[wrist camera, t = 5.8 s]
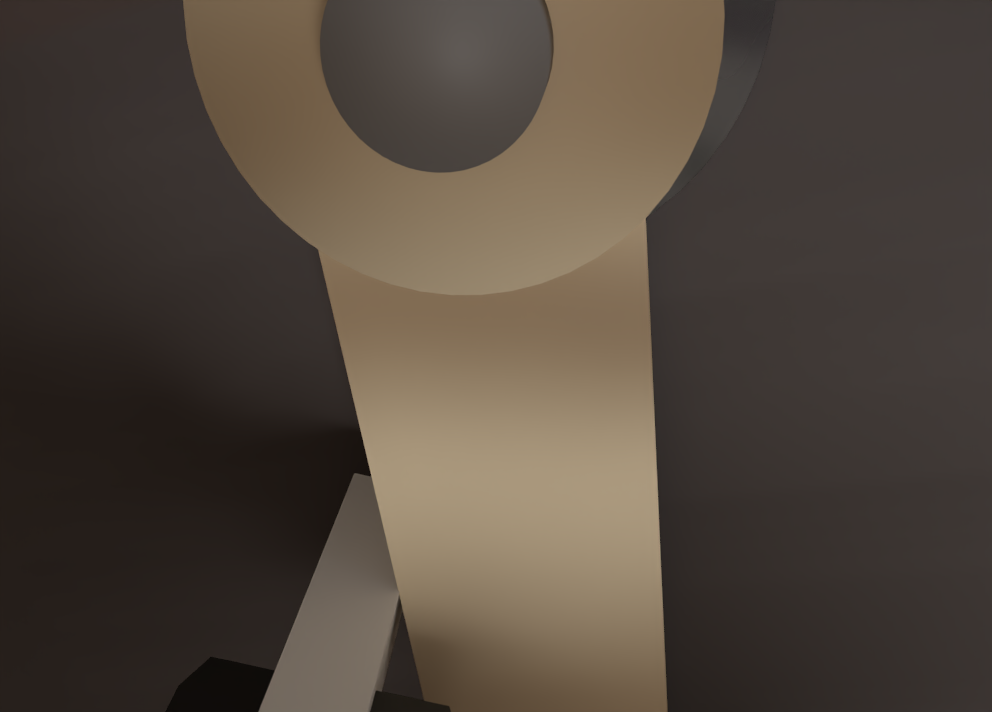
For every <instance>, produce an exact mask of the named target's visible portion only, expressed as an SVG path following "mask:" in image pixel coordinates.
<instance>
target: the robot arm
mask: <svg viewBox="0 0 992 712" xmlns="http://www.w3.org/2000/svg"><path fill="white" fill-rule="evenodd" d="M399 592H400V591H398V587H397V583H396V579H395V575H394V570H393V566H392V562H391V558H390V553H389V549H388V545H387V540H386V536H385V532H384V528H383V523H382V519H381V515H380V511H379V506H378V502H377V498H376V494H375V489H374V485H373V481H372V477H370V476H366V475H361V474H357V473H354V475H353V477H352V480H351V482H350V485H349V487H348V490H347V492H346V495H345V497H344V500H343V502H342V505H341V507H340V510H339V512H338V515H337V517H336V520H335V522H334V525H333V527H332V530H331V532H330V535H329V537H328V540H327V542H326V545H325V547H324V550H323V552H322V555H321V557H320V560H319V562H318V565H317V567H316V570H315V572H314V575H313V577H312V580H311V582H310V585H309V587H308V590H307V592H306V595H305V597H304V599H303V602H302V604H301V607H300V609H299V612H298V614H297V617H296V619H295V622H294V624H293V627H292V629H291V632H290V634H289V637H288V639H287V642H286V644H285V647H284V649H283V652H282V654H281V657H280V659H279V662H278V664H277V667H276V669H275V671H274V670H270V669H265V668H260V667H256V666H251V665H246V664H242V663H237V662H232V661H228V660H223V659H218V658H214V657H210V658H209V659H208V660H207V661H206V662H205V663H203V664H202V665H201V666H200V667H199V668H198V669H197V670H196V671H195V672H193V673H192V674H191V675H190V676H189V677H188V678H187V679H186V680H185V681H183V682H182V683H181V684H180V685H179V686H178V688H177V690H176V692H175V694H174V696H173V698H172V700H171V702H170V704H169V706H168V708H167V710H166V712H451V710H450V706H447V705H442V704H437V703H433V702H428V701H423V700H419V699H414V698H409V697H405V696H400V695H395V694H391V693H386V692H382V689H383V685H384V681H385V677H386V673H387V670H388V666H389V662H390V658H391V654H392V650H393V646H394V642H395V638H396V634H397V630H398V627H399V623H400V619H401V615H402V611H403V609H402V604H401V600H400V596H399Z"/></svg>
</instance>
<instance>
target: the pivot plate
mask: <svg viewBox="0 0 992 712" xmlns="http://www.w3.org/2000/svg"><path fill="white" fill-rule="evenodd" d="M775 1H776V0H724V13H725V18H724V34H723V50H722V59H721V64H720V69H719V74H718V79H717V85H716V90H715V94H714V97H713V100H712V103H711V106H710V109H709V112H708V116H707V119H706V122H705V125H704V128H703V130H702V132H701V134H700V136H699V138H698V141H697V143H696V145H695V147H694V149H693V151H692V153H691V155H690V158H689V160H688V161H687V163H686V165H685V166H684V168H683V169H682V171H681V172H680V174H679V176H678V177H677V179H676V180H675V182H674V183H673V185H672V187H671V188H670V190H669V191H668V192H667V193H666V195H665V196H664V197H663V198H662V199H661V201H660V202H659V203H658V204H657V205H656V207H655V208H654V209H653V210H652V211H651V213H650V214H652V213H653V212H655V211H656V210H657V209H658V208H660V207H661V206H662V205H663V204H665V203H666V202H667V201H668V200H670V199H671V198H672V197H673V196H675V195H676V194H677V193H678V192H680V191H681V190H682V189H683V188H684V187H685V185H686V184H687V183H688V182H689V181H690V180H691V179H692V178H693V177H694V176H695V175H696V174H697V173H698V172H699V171H700V170H701V169H702V168H703V167H704V166H705V164H706V163H707V162H708V161H709V159H710V158H711V157H712V155H713V154H714V153H715V151H716V150H717V149H718V147H719V146H720V145H721V143H722V142H723V141H724V139H725V138H726V136H727V135H728V133H729V131H730V130H731V128H732V126H733V124H734V123H735V121H736V119H737V118H738V116H739V114H740V112H741V111H742V109H743V107H744V105H745V103H746V101H747V98H748V96H749V94H750V91H751V89H752V87H753V84H754V82H755V80H756V77H757V75H758V73H759V70H760V67H761V63H762V60H763V56H764V53H765V49H766V46H767V43H768V39H769V36H770V31H771V25H772V19H773V13H774V7H775ZM650 214H649V215H650Z"/></svg>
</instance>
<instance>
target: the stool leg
mask: <svg viewBox="0 0 992 712" xmlns="http://www.w3.org/2000/svg"><path fill="white" fill-rule="evenodd" d="M183 5H184V15H185V25H186V35H187V43H188V47H189V52H190V56H191V61H192V66H193V70H194V75H195V78H196V81H197V84H198V87H199V90H200V93H201V96H202V99H203V102H204V105H205V108H206V111H207V113H208V115H209V117H210V119H211V121H212V123H213V125H214V128H215V130H216V132H217V134H218V136H219V138H220V140H221V142H222V144H223V146H224V147H225V149H226V151H227V152H228V154H229V155H230V157H231V159H232V160H233V162H234V164H235V165H236V167H237V169H238V170H239V172H240V173H241V174H242V176H243V177H244V178H245V179H246V181H247V182H248V183H249V185H250V186H251V187H252V189H253V190H254V191H255V192H256V194H257V195H258V196H259V198H260V199H261V200H262V201H263V202H264V203H265V204H266V205H267V206H268V207H269V208H270V209H271V210H272V211H273V212H274V213H275V214H276V215H277V216H278V217H279V218H280V219H281V220H282V221H283V222H284V223H285V224H286V225H287V226H289V227H290V228H291V229H292V230H293V231H295V232H296V233H297V234H298V235H299V236H301V237H302V238H303V239H304V240H305V241H307V242H308V243H310V244H311V245H313V246H314V247H316V248H317V249H318V251H319V255H320V260H321V264H322V268H323V272H324V277H325V281H326V285H327V289H328V294H329V298H330V302H331V306H332V311H333V315H334V319H335V323H336V328H337V332H338V336H339V340H340V345H341V349H342V353H343V357H344V362H345V366H346V370H347V374H348V379H349V383H350V387H351V392H352V396H353V400H354V404H355V409H356V413H357V417H358V421H359V426H360V430H361V434H362V438H363V443H364V447H365V451H366V455H367V460H368V464H369V468H370V472H371V477H372V481H373V485H374V489H375V494H376V498H377V502H378V506H379V511H380V515H381V519H382V523H383V528H384V532H385V536H386V540H387V545H388V549H389V553H390V558H391V562H392V566H393V570H394V575H395V579H396V583H397V587H398V591H400V592H399V596H400V600H401V604H402V609H403V613H404V617H405V621H406V626H407V630H408V634H409V638H410V643H411V647H412V651H413V655H414V660H415V664H416V668H417V672H418V677H419V681H420V685H421V689H422V694H423V698H424V701H428V702H433V703H437V704H442V705H447V706H450V710H451V712H667V690H666V667H665V644H664V622H663V599H662V576H661V553H660V531H659V508H658V485H657V463H656V440H655V417H654V394H653V372H652V349H651V326H650V303H649V281H648V258H647V235H646V217H647V216H648V215H649V214H650V213H651V211H652V210H653V209H654V208H655V207H656V205H657V204H658V203H659V202H660V201H661V199H662V198H663V197H664V196H665V195H666V193H667V192H668V191H669V190H670V188H671V187H672V185H673V183H674V182H675V180H676V179H677V177H678V176H679V174H680V172H681V171H682V169H683V168H684V166H685V165H686V163H687V161H688V160H689V158H690V155H691V153H692V151H693V149H694V147H695V145H696V143H697V141H698V138H699V136H700V134H701V132H702V130H703V128H704V125H705V122H706V119H707V116H708V112H709V109H710V106H711V103H712V100H713V97H714V94H715V90H716V85H717V79H718V74H719V69H720V64H721V59H722V50H723V34H724V18H725V13H724V0H183Z"/></svg>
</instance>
